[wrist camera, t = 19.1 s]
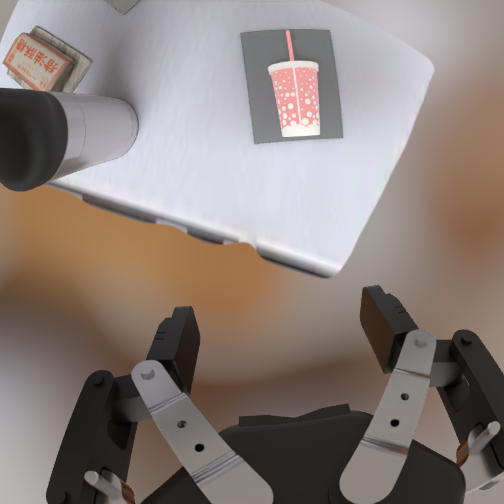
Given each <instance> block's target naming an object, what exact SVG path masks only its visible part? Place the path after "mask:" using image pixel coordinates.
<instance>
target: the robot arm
mask: <svg viewBox="0 0 504 504" xmlns="http://www.w3.org/2000/svg"><path fill="white" fill-rule="evenodd" d="M137 131H138V120H137V116H136V114H135V111H134V109H133V108H132V107H131V106H130V105H129V104H128V103H127V102H125V101H123V100H121V99H116V98H110V97H104V96H96V95H88V94H78V93H68V92H53V91H36V90H30V89H11V88H0V182H1V183H2V184H3V185H4V186H5V187H6V188H8V189H11V190H13V191H27V190H30V189H33V188H36V187H38V186H41V185H43V184H46V183H48V182H51V181H53V180H56V179H58V178H60V177H63V176H66V175H69V174H71V173H74V172H77V171H80V170H83V169H85V168H88V167H91V166H94V165H97V164H101V163H104V162H107V161H110V160H114V159H117V158H119V157H121V156H123V155H124V154H125V153H126V152H127V151H128V150H129V149H130V148H131V147H132V145H133V143H134V141H135V139H136V136H137ZM360 322H361V325H362V328H363V330H364V332H365V334H366V336H367V338H368V340H369V342H370V344H371V346H372V349H373V351H374V353H375V355H376V357H377V359H378V362H379V364H380V366H381V368H382V371H383V373H384V374H387V373H391V372H393V373H392V375H391V378H390V380H389V383H388V385H387V388H386V390H385V392H384V395H383V397H382V399H381V402H380V404H379V406H378V408H377V410H376V412H375V415H371V414H368V413H365V412H361V411H351V410H350V408H349V405H348V404H342V405H337V406H331V407H325V408H321V409H318V410H316V411H313V412H310V413H308V414H305V415H302V416H299V417H296V418H290V417H280V416H271V415H258V416H242V417H239V424H237V425H234V426H231V427H228V428H226V429H224V430H222V431H221V432H219V433H217V432H216V431H215V430H214V429H213V428H212V427H211V425H210V424H209V423H208V422H207V420H206V419H205V418H204V417H203V416H202V414H201V413H200V412H199V411H198V409H197V408H196V407H195V406H194V404H193V403H192V402H191V401H190V399H189V398H188V397H187V396H190V393H191V388H192V382H193V377H194V371H195V367H196V361H197V356H198V351H199V346H200V333H199V329H198V325H197V322H196V318H195V315H194V311H193V308H192V307H191V306H182V307H175V309H174V312H173V314H172V317H171V318H165V320H164V321H163V322H162V323H161V324H160V325H159V327H158V330H157V332H156V333H157V334H156V335H155V337H154V340H153V342H152V345H151V348H150V350H149V353H148V356H147V358H146V361H143V362H141V363H139V364H138V365H136V366H135V368H134V369H133V371H132V373H131V374H129V375H125V376H120V377H116V378H114V376H113V375H112V373H111V372H109V371H107V370H99V371H96V372H94V373H92V374H91V375H90V376H89V377H88V378H87V380H86V382H85V384H84V386H83V389H82V392H81V393H80V396H79V398H78V401H77V403H76V406H75V408H74V411H73V413H72V416H71V418H70V421H69V424H68V427H67V429H66V432H65V435H64V438H63V440H62V443H61V446H60V449H59V452H58V455H57V458H56V461H55V464H54V468H53V471H52V474H51V477H50V481H49V485H48V488H47V492H46V500H47V502H48V504H135V495H134V491H133V490H132V488H131V487H130V486H129V485H128V484H127V483H126V480H127V474H128V469H129V464H130V459H131V453H132V448H133V443H134V439H135V434H136V429H137V424H138V421H142V420H147V419H152V418H153V419H154V421H155V423H156V424H157V426H158V428H159V429H160V431H161V433H162V434H163V436H164V437H165V439H166V441H167V442H168V443H169V445H170V447H171V448H172V450H173V451H174V453H175V454H176V456H177V457H178V459H179V460H180V462H181V463H182V464H183V466H182V467H181V468H180V469H179V470H178V471H177V472H176V473H175V474H173V475H172V476H171V477H170V478H169V479H168V480H167V481H166V482H165V483H163V484H162V485H161V486H160V487H159V488H158V489H157V490H155V491H154V492H153V493H152V494H150V495H149V496H148V497H147V498H146V499H144V500H143V502H141V504H463V502H464V497H465V496H466V495H468V494H470V493H471V492H474V491H475V490H477V489H481V490H486V489H489V488H491V487H492V486H494V485H495V484H496V483H498V482H499V481H500V480H502V479H503V478H504V374H503V373H502V371H501V370H500V368H499V366H498V365H497V363H496V362H495V361H494V359H493V357H492V356H491V354H490V353H489V351H488V350H487V349H486V347H485V346H484V344H483V343H482V342H481V340H480V339H479V337H478V336H477V335H476V334H475V333H473V332H472V331H469V330H458V331H456V332H455V334H454V335H453V338H452V340H436V338H435V337H434V336H433V334H431V333H430V332H428V331H425V330H420V329H419V328H418V327H417V325H416V324H415V322H414V321H413V319H412V318H411V317H410V315H409V314H408V312H406V310H405V308H404V307H403V306H402V304H401V303H400V301H399V300H398V299H397V298H396V297H394V296H393V295H391V294H385V293H384V291H383V290H382V288H381V287H380V286H379V285H374V286H368V287H364V288H363V290H362V299H361V308H360ZM465 378H466V379H465ZM466 380H467V381H466ZM467 382H468V383H469V385H468V383H467ZM428 387H436V388H437V390H438V392H439V395H440V397H441V399H442V401H443V404H444V406H445V408H446V410H447V413H448V415H449V418H450V420H451V422H452V425H453V427H454V430H455V432H456V435H457V438H458V440H459V443H460V445H459V446H458V448H457V451H456V459H457V460H456V463H454V462H453V461H451V460H450V459H448V458H446V457H444V456H442V455H440V454H438V453H437V452H435V451H433V450H431V449H430V448H427V447H426V446H424V445H422V444H421V443H419V442H417V441H415V440H414V439H412V438H413V436H414V433H415V430H416V427H417V424H418V421H419V418H420V415H421V412H422V409H423V405H424V402H425V398H426V395H427V391H428Z"/></svg>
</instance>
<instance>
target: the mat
mask: <svg viewBox="0 0 504 504" xmlns="http://www.w3.org/2000/svg"><path fill="white" fill-rule="evenodd" d="M289 31H290V37H291V43H292V49H293V56H294V61H312V62H315V63H317V64H318V66H319V67H318V69H319V71H318V72H317V79H318V95H319V116H320V135H310V136H294V137H283V136H282V131H281V125H280V119H279V114H278V108H277V103H276V98H275V93H274V88H273V82H272V77H271V75H269V71H268V67H269V66H271V65H273V64H277V63H281V62H288V61H290V56H289V49H288V42H287V36H286V30H270V31H256V32H245V33H241V40H242V48H243V55H244V63H245V70H246V78H247V86H248V94H249V102H250V110H251V118H252V126H253V134H254V143H255V144H260V143H270V142H281V141H293V140H309V139H330V138H343V128H342V117H341V107H340V97H339V89H338V81H337V73H336V66H335V59H334V53H333V46H332V41H331V35H330V30H289Z"/></svg>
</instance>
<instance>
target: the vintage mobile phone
mask: <svg viewBox="0 0 504 504" xmlns="http://www.w3.org/2000/svg"><path fill="white" fill-rule="evenodd" d="M104 1H105V2H107V3H108V4H110V5H111V6H112V7H114V8H115V9H117V10H118V11H119V12H121V13H122V14H124V15H125V14H126V13H127V12H128V11H129V10H130V9H131V8H132V7H133V6H134V5H135V4H136V3H137V2H139V1H140V0H104Z"/></svg>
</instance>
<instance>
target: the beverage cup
mask: <svg viewBox="0 0 504 504" xmlns="http://www.w3.org/2000/svg"><path fill="white" fill-rule="evenodd" d="M286 36H287V42H288V49H289V56H290V61H288V62H281V63H277V64H273V65H271V66H269V67H268V71H269V75H271V77H272V82H273V88H274V93H275V98H276V103H277V108H278V114H279V119H280V125H281V131H282V136H283V137H294V136H310V135H320V116H319V95H318V79H317V72H318V71H319V69H318V67H319V66H318V64H317V63H315V62H312V61H294V56H293V49H292V43H291V37H290V31H289V30H286Z"/></svg>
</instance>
